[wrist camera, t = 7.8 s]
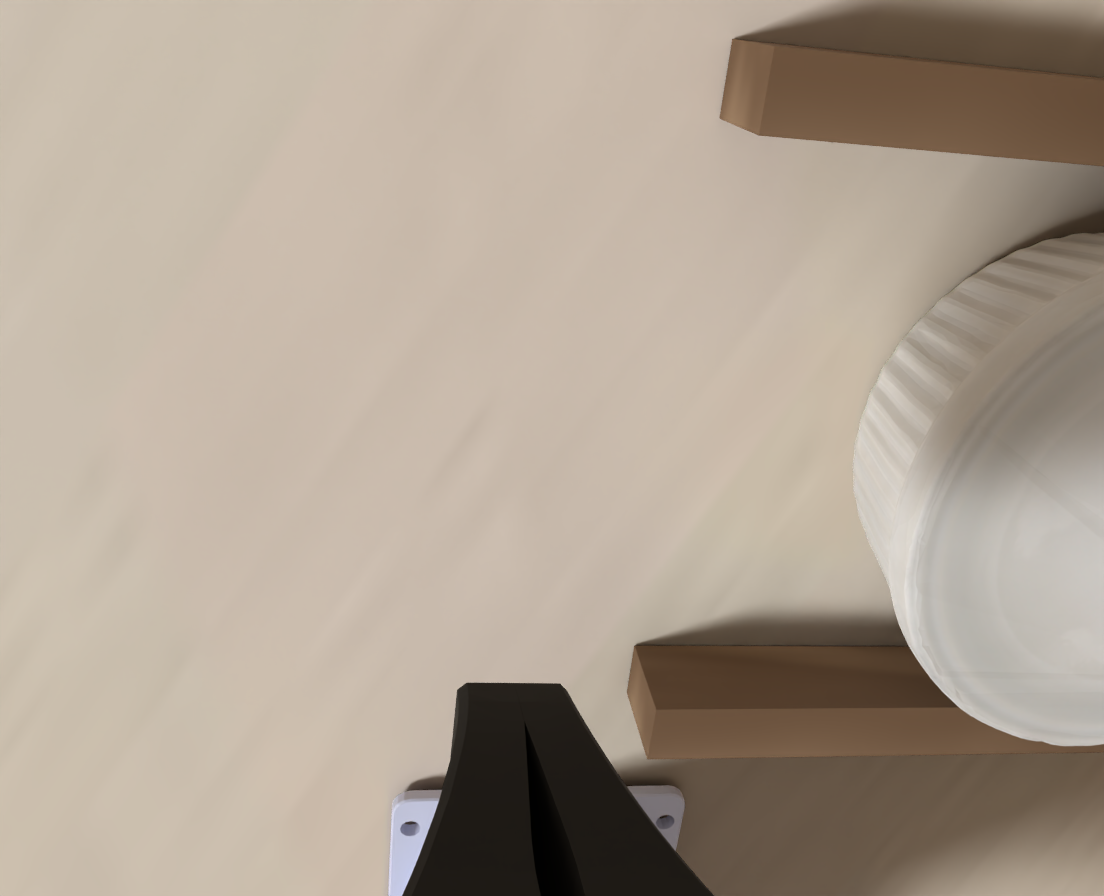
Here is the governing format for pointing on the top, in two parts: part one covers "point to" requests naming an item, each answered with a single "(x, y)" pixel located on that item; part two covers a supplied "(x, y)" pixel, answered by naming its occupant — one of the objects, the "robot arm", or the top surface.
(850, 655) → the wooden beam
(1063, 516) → the ramekin
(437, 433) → the top surface
